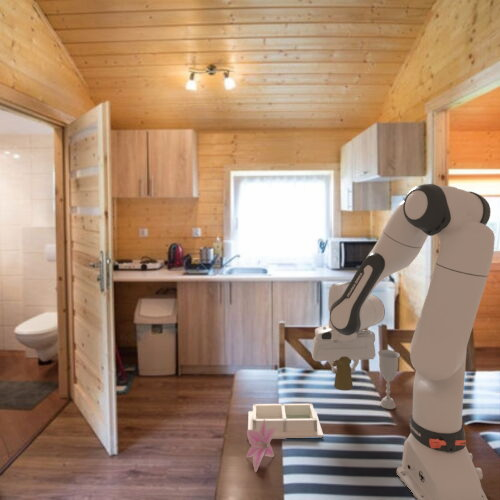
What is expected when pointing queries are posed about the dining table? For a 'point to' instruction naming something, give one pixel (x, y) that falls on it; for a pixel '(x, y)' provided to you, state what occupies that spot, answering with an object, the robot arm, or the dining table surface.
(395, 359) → the chalice
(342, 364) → the cork
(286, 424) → the cream divided tray
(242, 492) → the dining table surface
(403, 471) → the robot arm
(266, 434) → the lily
